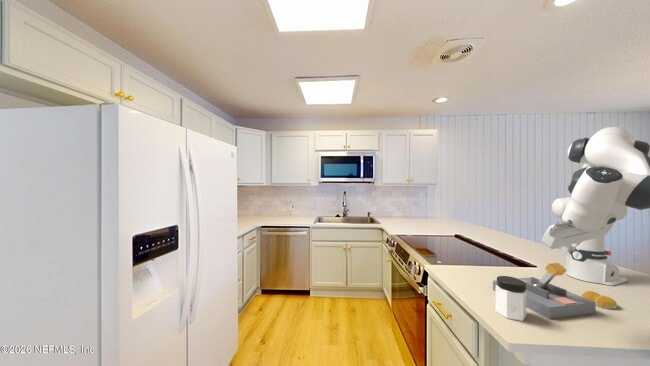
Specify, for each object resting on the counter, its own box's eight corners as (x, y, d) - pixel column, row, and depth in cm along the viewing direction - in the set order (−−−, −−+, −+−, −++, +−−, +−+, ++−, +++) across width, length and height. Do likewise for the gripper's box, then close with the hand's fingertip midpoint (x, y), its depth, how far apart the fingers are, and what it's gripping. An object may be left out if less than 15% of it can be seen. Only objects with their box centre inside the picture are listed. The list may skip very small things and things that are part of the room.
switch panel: (531, 286, 106) (531, 271, 105) (595, 313, 84) (595, 295, 84) (492, 289, 102) (493, 274, 102) (549, 319, 80) (549, 300, 80)
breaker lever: (539, 284, 95) (559, 262, 88) (546, 292, 93) (567, 270, 86) (528, 285, 94) (548, 263, 88) (535, 293, 92) (556, 270, 85)
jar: (499, 317, 81) (499, 282, 81) (492, 305, 89) (492, 274, 89) (531, 323, 78) (531, 287, 78) (521, 310, 86) (521, 277, 86)
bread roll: (610, 312, 85) (611, 301, 85) (577, 300, 93) (577, 290, 93) (622, 307, 88) (622, 297, 88) (588, 296, 96) (588, 286, 96)
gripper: (563, 231, 70) (549, 263, 77) (624, 216, 72) (604, 249, 78) (542, 218, 76) (531, 250, 82) (599, 205, 77) (583, 237, 84)
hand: (567, 249), depth 80 cm, fingers closed
